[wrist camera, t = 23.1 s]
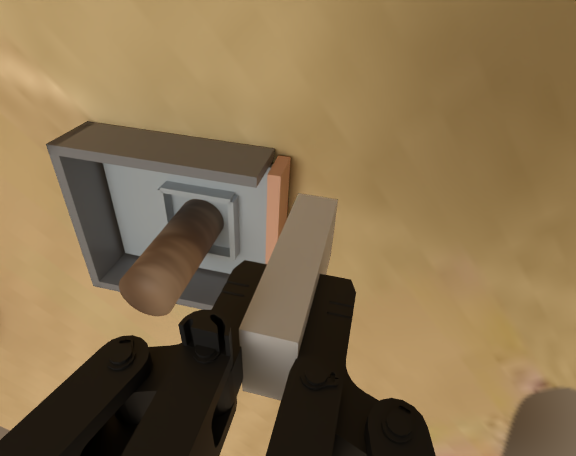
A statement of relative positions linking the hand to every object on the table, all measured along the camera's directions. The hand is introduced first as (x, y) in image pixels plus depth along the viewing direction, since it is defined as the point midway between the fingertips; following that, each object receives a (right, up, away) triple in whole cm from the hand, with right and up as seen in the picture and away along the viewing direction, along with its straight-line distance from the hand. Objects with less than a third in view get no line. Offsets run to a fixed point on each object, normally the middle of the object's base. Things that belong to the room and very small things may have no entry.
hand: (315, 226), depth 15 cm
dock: (-13, +2, +29) cm, 32 cm away
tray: (-11, +2, +29) cm, 31 cm away
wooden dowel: (-10, +1, +28) cm, 30 cm away
